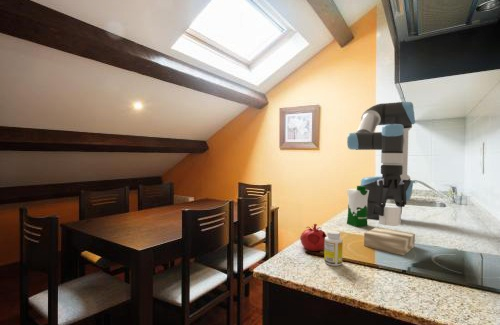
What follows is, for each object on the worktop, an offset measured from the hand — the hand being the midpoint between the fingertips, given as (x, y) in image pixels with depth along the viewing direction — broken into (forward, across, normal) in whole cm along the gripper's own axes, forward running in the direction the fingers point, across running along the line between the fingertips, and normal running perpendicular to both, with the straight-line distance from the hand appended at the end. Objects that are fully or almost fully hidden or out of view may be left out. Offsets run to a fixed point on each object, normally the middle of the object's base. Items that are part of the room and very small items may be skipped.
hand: (389, 223), depth 106 cm
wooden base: (+9, 0, 0) cm, 9 cm away
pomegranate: (+9, +30, -7) cm, 32 cm away
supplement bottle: (+9, +32, +7) cm, 34 cm away
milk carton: (+9, -12, -31) cm, 35 cm away
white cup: (+1, 0, 0) cm, 1 cm away
